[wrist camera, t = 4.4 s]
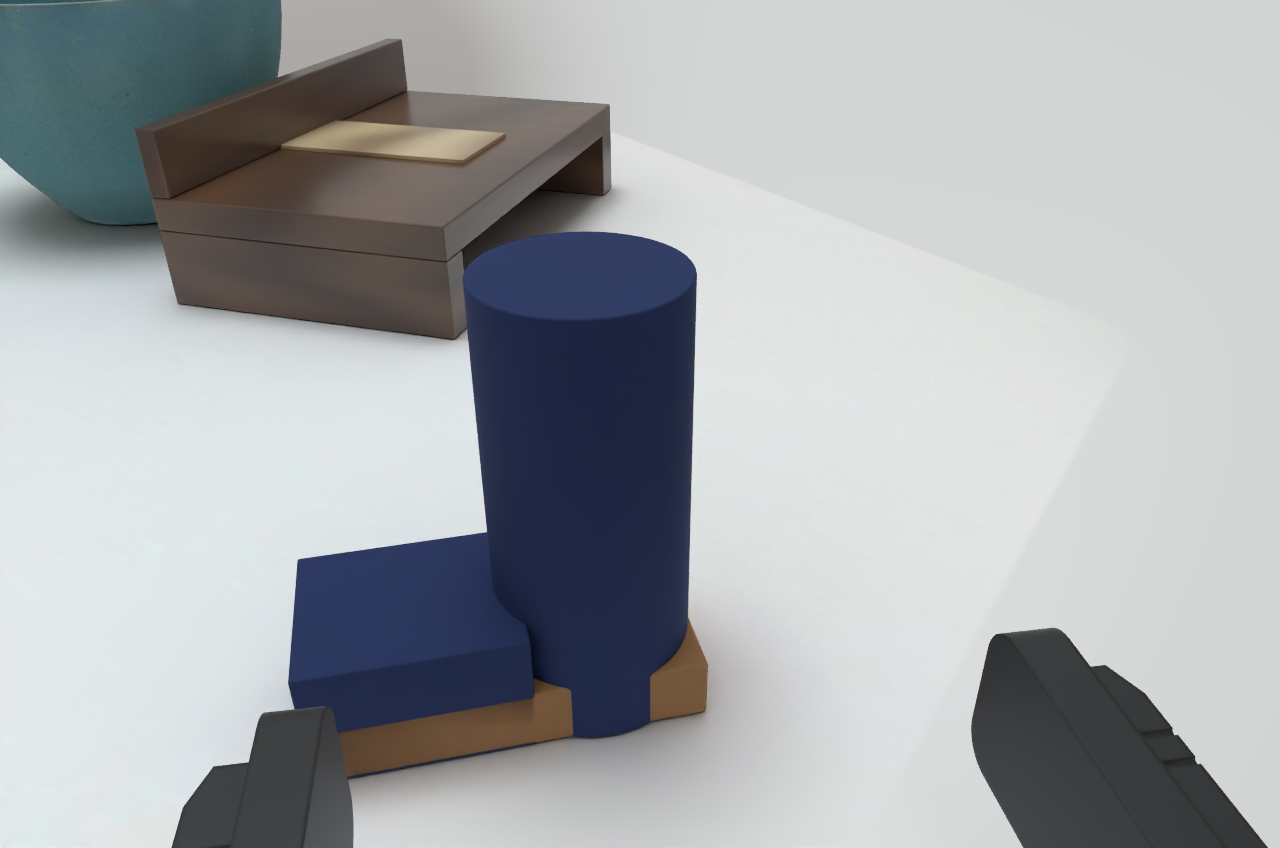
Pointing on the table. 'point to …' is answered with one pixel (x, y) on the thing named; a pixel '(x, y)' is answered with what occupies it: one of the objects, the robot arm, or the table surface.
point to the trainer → (533, 528)
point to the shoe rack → (354, 190)
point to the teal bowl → (117, 87)
